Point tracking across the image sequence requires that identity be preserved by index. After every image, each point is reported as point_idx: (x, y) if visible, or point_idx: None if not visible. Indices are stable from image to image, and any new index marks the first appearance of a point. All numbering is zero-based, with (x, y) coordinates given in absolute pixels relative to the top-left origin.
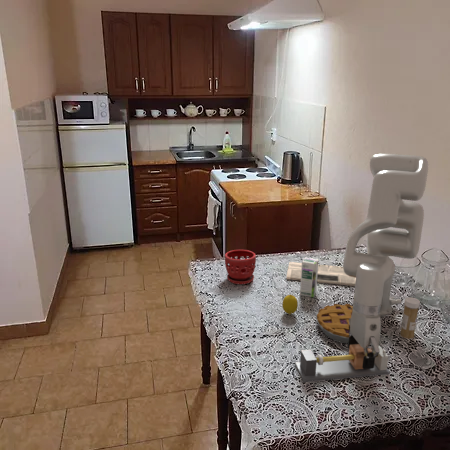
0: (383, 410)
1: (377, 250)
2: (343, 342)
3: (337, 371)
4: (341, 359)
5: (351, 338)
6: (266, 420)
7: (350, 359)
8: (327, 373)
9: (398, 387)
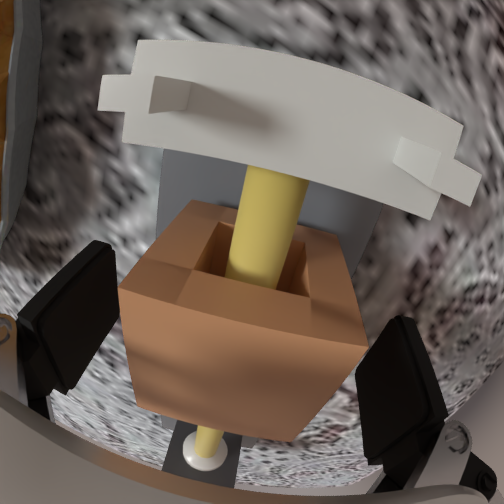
0: (500, 334)
1: None
2: (23, 190)
3: None
4: None
5: (67, 386)
6: (321, 481)
7: None
8: None
9: (500, 173)
